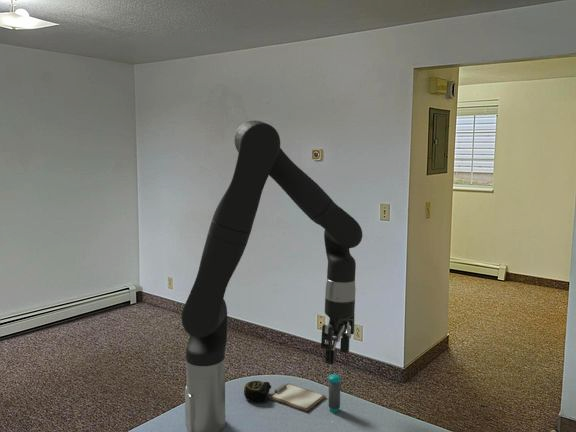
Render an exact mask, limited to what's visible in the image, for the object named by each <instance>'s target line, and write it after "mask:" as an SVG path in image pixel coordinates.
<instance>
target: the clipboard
mask: <svg viewBox="0 0 576 432" xmlns="http://www.w3.org/2000/svg"><path fill="white" fill-rule="evenodd" d="M267 398H268V400H270V401H272V400H273V402H276V403H279V404H282V405H284V406H287V407H290V408H293V409H295V410H298V411H301V412H304V413H307V414H308V413H309V412H310V411H311V410H312V409H314V408H315V407H316V406H318V405H319V404H320V403H321V402H322V401H324V400H325V399H326V398H327V395H325V394H322V393H319V392H316V391H313V390H309V389H307V388H303V387H301V386H298V385H295V384H291V383H287V384H285V383H283V384H281V385H280V386H278V387H276V388H275V389H274V392H273V393H272V394H270V395H269V396H267Z"/></svg>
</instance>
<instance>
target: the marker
mask: <svg viewBox="0 0 576 432" xmlns="http://www.w3.org/2000/svg"><path fill="white" fill-rule="evenodd" d="M341 379H342V378H341V375H340V374H337V373H336V374H335V373H333V374H329V375H328V408H329V412H330V413H333V414H337V413H338V412H339V411H340V408H341Z"/></svg>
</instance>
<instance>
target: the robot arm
mask: <svg viewBox="0 0 576 432" xmlns="http://www.w3.org/2000/svg"><path fill="white" fill-rule="evenodd" d="M234 146H235V149H236V151H237V153H238V154H237V158H236V159H237V160H236V164H235V168H234V171H233V175H232V178H231V182H230V183H229V185H228V187H227V189H226V191H225V193H224V194H223V195H222V197H221V198H220V200H219V203H218V204H217V206H216V208H215V210H214V213H213V215H212V219H211V223H210V225H209V229H208V232H207V236H206V238H205V243H204V247H203V250H202V255H201V258H200V262H199V267H198V271H197V274H196V277H195V280H194V283H193V285H192V288H191V289H190V293H189V294H188V297H187V299H186V301H185V304H184V306H183V308H182V310H181V323H182V327H183V329H184V331H185V332H186V334H188V335H189V338H188V342H187V345H186V348H185V349H186V350H185V365H186V369H185V370H186V371H185V372H186V373H185V374H186V386H184V409H185V412H184V413H185V414H184V415H185V417H184V419H185V421H184V422H185V425H186V428H187V430H188V432H221V431H222V430H223V429H224V428H225V426H226V358H225V357H226V353H225V352H226V347H227V346H226V345H227V342H228V307H227V303H226V301H225V298H224V297H225V295H226V294H225V293H226V290H227V287H228V285H229V284H230V283H229V282H230V280H231V278H232V277H233V274H234V273H235V270H236V269H237V267H238V265H239V264H240V261H241V259H242V257H243V255H244V252H245V251H246V250H245V249H246V247H247V244H248V242H249V238H250V235H251V233H252V229H253V225H254V221H255V219H256V215H257V212H258V208H259V205H260V201H261V197H262V193H263V190H264V187H265V185H266V183H267V180H268V178H269V177H270V178H271V179H272V180H273V181H274V182H275V183H276V184H277V185H278V186H279V187H280V188H281V189H282V190H283V191H284V192H285V194H286V195H288V197H289V198H290V199H291V200H292V201H293V202H294V203H295V205H296V206H297V207H298V208H299V209H300V210H301V211H302V212H303V213H304V214H305V215H306V216H307V217H308V218H309V219H310V220H311V221H312V222H314V223H315V224H316V225H318V226H320V227H322V229H324V231H323V232H324V233H323V239H324V247H325V253H326V257H327V269H326V283H325V294H324V295H325V296H324V297H325V299H324V314H325V315H326V316H327V317H328V318H329V321H328V324H323V325H322V327H321V339H320V341H321V343H320V349H323V350H325V358H324V359H325V360H324V361H325V363H326V364H328V365H334V364H335V358H336V357H335V355H336V347H337V344H338V343H339V342H340V348H339V349H340V350H339V351H340V352H341V353H344V354H348V353H349V352H350V339H352V335H354V334H355V308H356V291H357V290H356V289H357V288H356V259H355V258H354V257H353V255H352V254H351V252H350V249H353V248H356V247H358V246H359V245H360V243H362V239H363V230H362V227H361V226H360V224H359V222H358V221H357V220H356V219H355V218H354V217H352V215H350V214H349V213H348V212H347V211H345V209H343V208H342V207H340V206H339V205H338V204H337V203H336V202H335V201H334V199H332V198H331V196H329V195H328V194H327V193H326V191H325V190H324V189H323V188H322V187H321V186H320V185H319V184H318V183H317V182H316V181H315V180H314V179H312V178H311V177H310V176H309V175H308V174H307V173H306V172H304V171H303V170H302V169H301V168H300V167H299V166H298V165H296V163H294V161H292V159H291V158H289V156H288V155H287V154H286V153H285V151H284V150H283V149H282V148H281V138H280V134H279V132H278V131H277V129H276V128H275V127H274V126H273V125H272V124H271V125H270V124H269V123H267V122H264V121H261V120H248V121H245V122H244V123H242V124H240V125H239V127H237V130H236V131H235V134H234Z"/></svg>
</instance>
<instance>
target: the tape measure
mask: <svg viewBox="0 0 576 432" xmlns="http://www.w3.org/2000/svg"><path fill="white" fill-rule="evenodd" d="M271 389H272V384H271V383H270V382H269V381H264V382H263V381H261V380H251V381H248V382H247V383H246V384H245V386H244V389H243V394H244V397H245V399H246V400H247V401H250V402H253V403H256V402H266V401H267V398H268V395H269V393H270V390H271Z"/></svg>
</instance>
